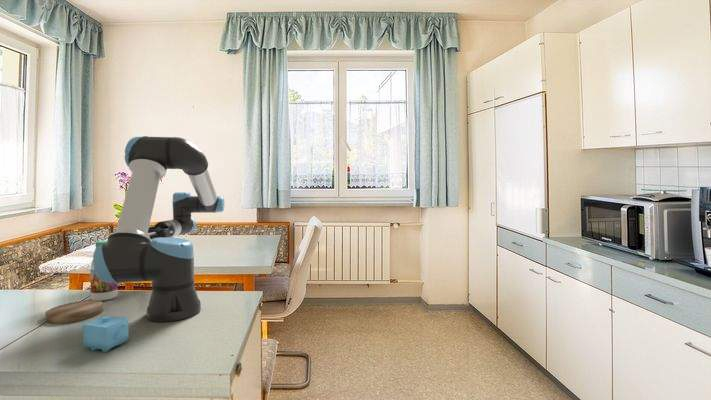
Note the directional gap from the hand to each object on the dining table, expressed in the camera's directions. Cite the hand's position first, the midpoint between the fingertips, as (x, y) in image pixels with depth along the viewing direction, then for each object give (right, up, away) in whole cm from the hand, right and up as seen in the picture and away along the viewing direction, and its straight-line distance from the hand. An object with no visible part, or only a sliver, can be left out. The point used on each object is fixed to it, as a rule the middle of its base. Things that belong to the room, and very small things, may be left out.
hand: (126, 237), depth 134 cm
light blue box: (+25, -23, -45) cm, 56 cm away
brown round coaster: (0, -21, -24) cm, 32 cm away
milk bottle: (-2, -20, -9) cm, 22 cm away
